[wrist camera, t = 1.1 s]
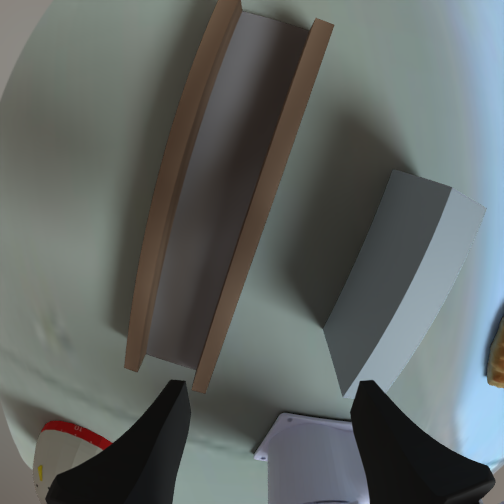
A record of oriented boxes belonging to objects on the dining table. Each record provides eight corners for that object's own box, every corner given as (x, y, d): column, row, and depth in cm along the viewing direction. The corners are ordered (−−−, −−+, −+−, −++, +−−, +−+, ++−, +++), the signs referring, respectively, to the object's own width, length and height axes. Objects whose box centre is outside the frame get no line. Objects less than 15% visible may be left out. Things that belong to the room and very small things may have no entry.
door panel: (422, 183, 18) (486, 208, 12) (352, 335, 22) (379, 402, 16) (392, 168, 18) (452, 187, 11) (322, 328, 22) (342, 397, 15)
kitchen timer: (92, 418, 27) (42, 529, 13) (160, 482, 31) (139, 576, 17) (27, 421, 29) (-19, 499, 15) (89, 479, 33) (62, 553, 19)
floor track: (323, 40, 15) (334, 24, 12) (210, 367, 23) (205, 393, 20) (227, 12, 15) (221, -8, 12) (136, 343, 23) (124, 367, 20)
